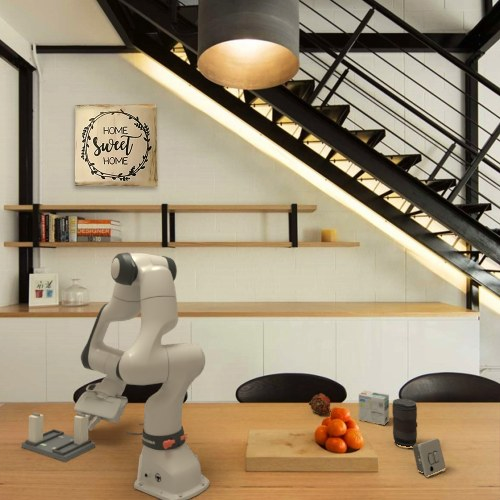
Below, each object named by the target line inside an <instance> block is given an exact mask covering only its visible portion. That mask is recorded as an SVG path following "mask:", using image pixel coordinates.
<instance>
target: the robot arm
mask: <svg viewBox="0 0 500 500" xmlns="http://www.w3.org/2000/svg"><path fill="white" fill-rule="evenodd" d="M177 272H178V269H177V264H176V262H175V260H174V259H173V258H172V257H168V256H165V255H162V256H160V255H156V254H149V253H144V252H143V253H141V252H139V253H138V252H133V253H131V252H121V253H117V254H116V255H115V256H114V258H113V259H112V262H111V265H110V274H111V277H112V279H113V280H114V282H115V284H114V287H113V292H112V296H111V298H110V300H109V302H107V303H105V304H103V305H102V307H101V308H100V310H99V312H98V313H97V316H96V319H95V321H94V324H93V327H92V329H91V332H90V334H89V337H88V340H87V342H86V344H85V346H84V348H83V350H82V352H81V355H80V361H81V365H82V366H83V368H84V369H87V370H91V371H96V372H99V373H100V374H103V375H105V377H103V379H102V380H101V382H97V383H91V384H88V385H87V386H86V388H85V390H86V391H84V392H83V393H82V394H81V395H80V396H79V398H78V400H77V401H76V402H75V404H74V408H73V409H74V411H75V412H76V414H77V413H81V414H85V415H88V431H92V430H93V429H94V427H95V426H97V425H98V424H99V423H100V422H101V421H105V422H110V423H113V424H117V423H119V421H121V418H122V416H123V415H124V412H125V410H126V406H127V405H128V402H129V401H128V397H127V396H124V395H123V392H124V391H125V388H126V386H127V385H134V386H135V385H136V386H147V385H155V384H162V385H161V387H160V388H159V389H158V391H157V392H155V393H154V394H152V395H150V397H148V399H147V400H146V402H145V403H144V407H143V408H144V410H143V424H144V425H143V428H142V432H141V433H142V435H141V444H142V445H143V446H142V449H141V452H140V454H139V459H138V465H137V466H138V468H137V477H136V478H137V479H136V480H135V482H134V484H133V488H134V489H135V490H138V491H140V492H143V493H145V494H147V495H150V496H152V497H155V498H157V499H159V500H190V499H191V498H194V497H195V496H198V495H200V494H201V493H203V492H204V491H206V490H207V488H208V487H209V486H210V480H209V479H208V478H207V477H206V476H205V475H203V474H202V469H201V462H200V460H199V456H198V454H196V453H193V451H192V449H191V448H190V446H189V445H188V444H187V442H186V440H187V439H188V434H185V430H184V428H183V427H184V426H183V425H182V417H183V407H184V406H183V405H184V400H185V396H186V393H187V391H188V390H189V388H190V386H191V385H192V383H193V382H194V380H196V379H197V378H198V377H200V375H201V374H202V373H203V371H204V370H205V366H206V356H205V352H204V350H203V348H201V346H200V345H199V344H195V343H187V342H186V343H185V342H181V343H180V342H179V343H169V344H162V337H163V336H165V335H166V334H167V333H169V332H171V331H172V330H173V329H174V328H176V326H177V325H178V322H179V314H178V312H179V311H178V302H177V301H178V300H177V299H178V298H177V294H176V286H175V282H174V281H175V280H176V278H177V274H178V273H177ZM139 314H140V328H139V332H138V335H137V336H136V339H135V341H134V342H133V343H132V345H131V346H130V347H128V349H126V350H121V349H118V348H115V347H113V346H109V345H106V344H105V343H104V338H105V336H106V334H107V331H108V328H109V326H110V324H111V323H112V322H113V323H114V322H126V321H130V320H132V319H134V318H136V317H137V316H138V315H139Z"/></svg>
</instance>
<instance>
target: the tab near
mask: <svg viewBox="0 0 500 500" xmlns="http://www.w3.org/2000/svg"><path fill="white" fill-rule="evenodd" d="M73 436H74V443H75V444H78V445H80V444H82V443H84V442H86V441H88V439H89V430H88V415H85V414H81V413H77V412H76V415H75V416H73Z"/></svg>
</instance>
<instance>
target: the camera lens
mask: <svg viewBox="0 0 500 500" xmlns="http://www.w3.org/2000/svg"><path fill="white" fill-rule="evenodd" d="M391 405H392V435H393V440H394V444H395V443H396V444H398V445H401V446H406V447H410V446H413V445H416V443H417V436H418V431H417V428H418V422H417V418H418V407H417V402H416V401H414V400H412V399H408V398H396V399H393V401H392V404H391Z"/></svg>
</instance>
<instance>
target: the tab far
mask: <svg viewBox="0 0 500 500" xmlns="http://www.w3.org/2000/svg"><path fill="white" fill-rule="evenodd" d="M43 433H44V414H41V413H38V412H31V415H29V416H28V436H27V437H28V438H27V440H28V441H30V442H33V443H37V442H39V441H42V440H43Z"/></svg>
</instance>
